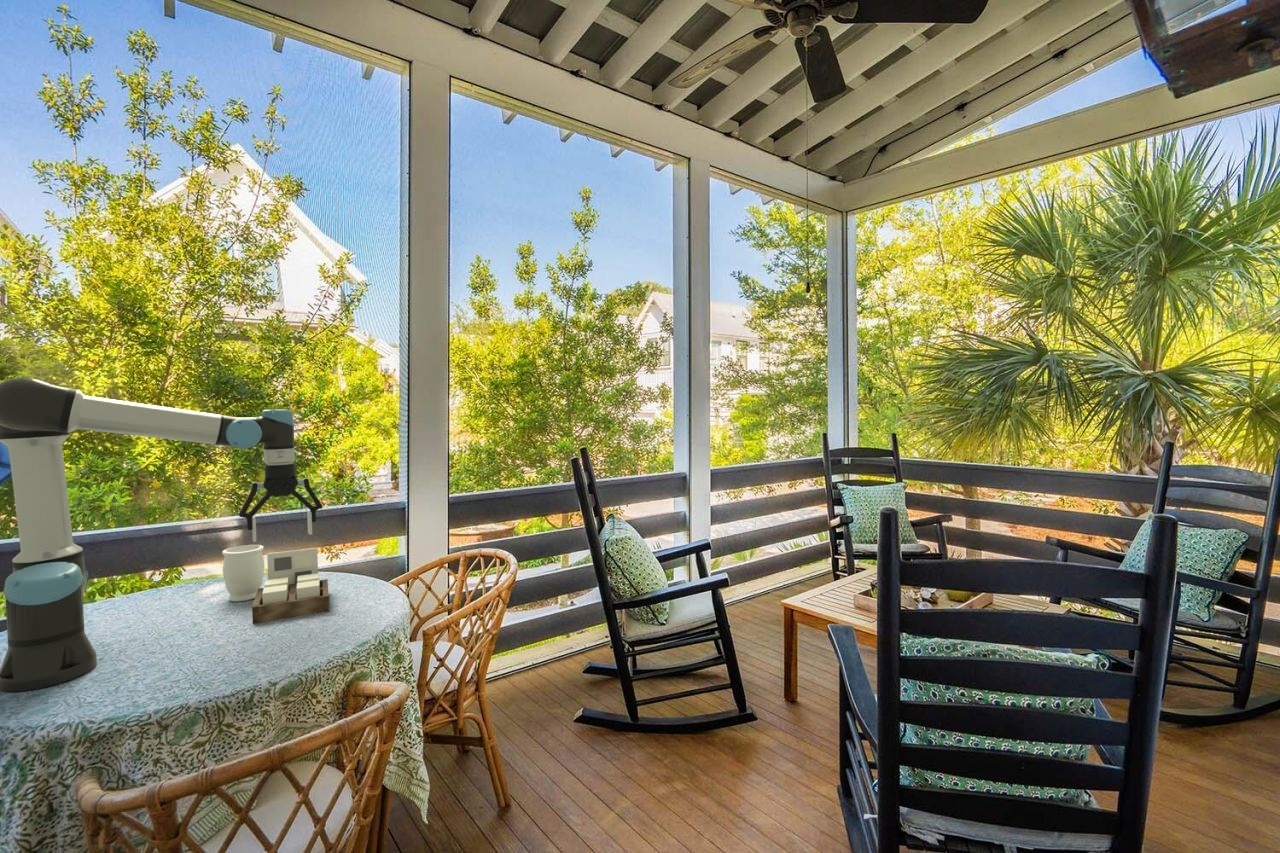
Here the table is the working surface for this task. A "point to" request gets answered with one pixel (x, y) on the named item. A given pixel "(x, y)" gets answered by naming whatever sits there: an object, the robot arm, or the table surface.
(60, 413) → the robot arm
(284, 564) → the card
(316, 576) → the button far right
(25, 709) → the table surface
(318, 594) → the button near right
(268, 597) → the button near left
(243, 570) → the jar
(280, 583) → the button far left
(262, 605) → the board
